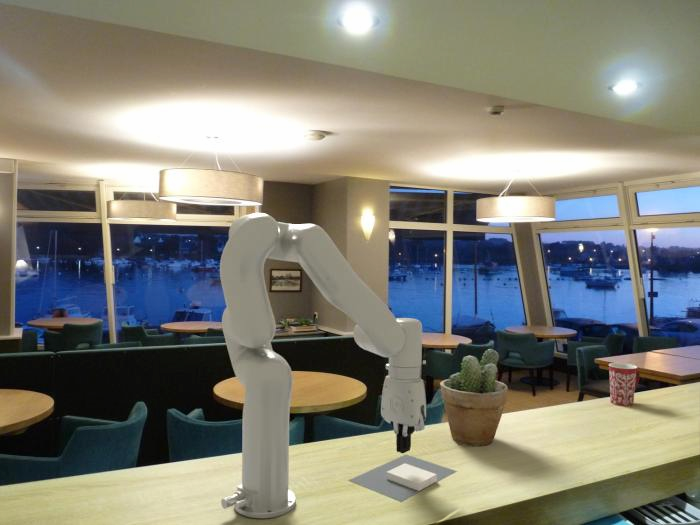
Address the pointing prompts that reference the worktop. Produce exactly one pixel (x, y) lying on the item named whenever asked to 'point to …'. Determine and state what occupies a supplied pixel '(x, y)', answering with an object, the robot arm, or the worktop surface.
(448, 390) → the potted plant
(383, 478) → the mat
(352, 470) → the worktop surface
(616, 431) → the worktop surface
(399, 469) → the tile
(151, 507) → the worktop surface
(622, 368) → the mug
